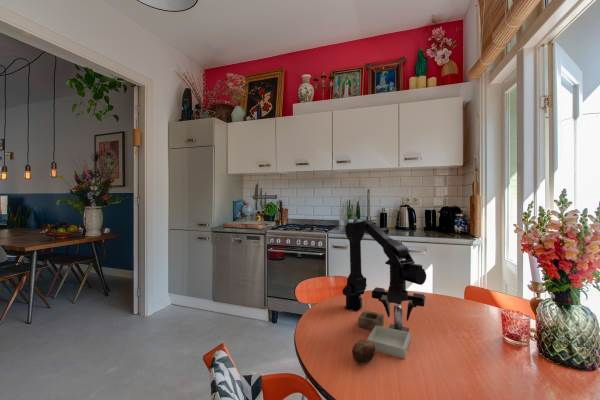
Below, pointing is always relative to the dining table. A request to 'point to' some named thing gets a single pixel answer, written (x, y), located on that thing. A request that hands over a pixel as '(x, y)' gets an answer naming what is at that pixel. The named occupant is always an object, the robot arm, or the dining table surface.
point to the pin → (398, 317)
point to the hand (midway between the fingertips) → (398, 318)
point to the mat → (402, 328)
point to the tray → (390, 341)
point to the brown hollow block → (370, 320)
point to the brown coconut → (363, 351)
